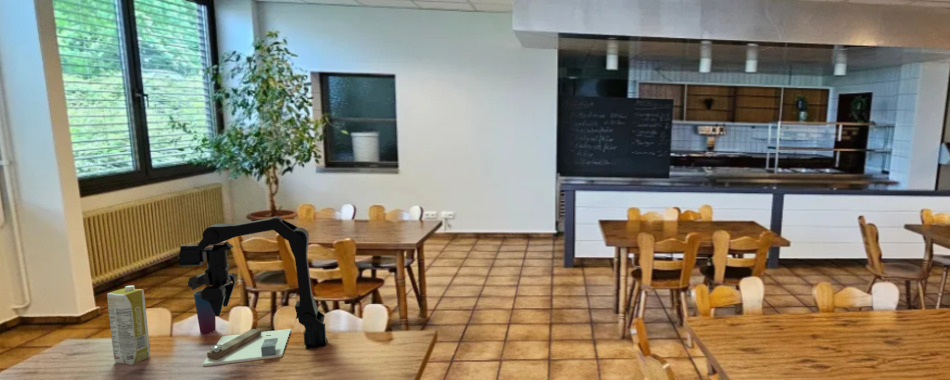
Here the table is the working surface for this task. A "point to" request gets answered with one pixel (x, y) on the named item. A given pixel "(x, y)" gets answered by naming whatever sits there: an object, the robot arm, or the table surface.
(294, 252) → the robot arm
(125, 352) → the juice carton
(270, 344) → the keeper
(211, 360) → the base plate
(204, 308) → the cup
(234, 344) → the link
